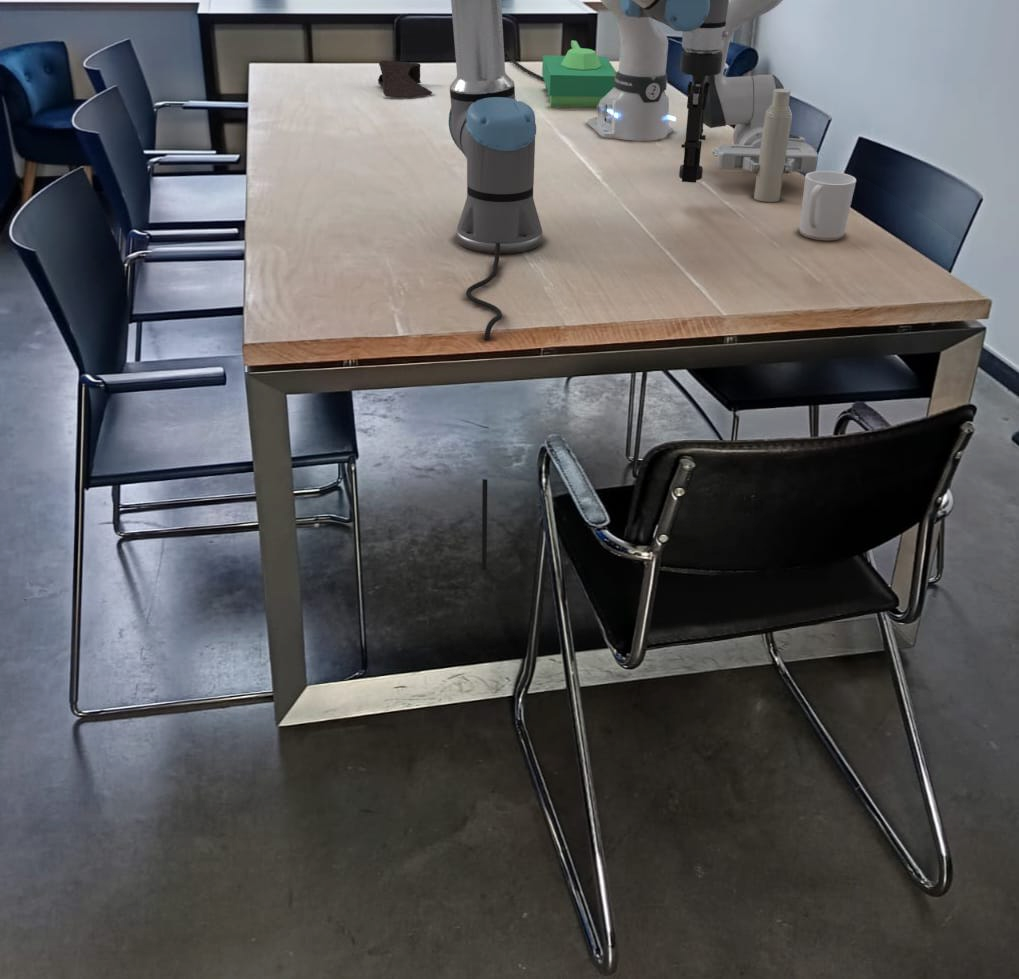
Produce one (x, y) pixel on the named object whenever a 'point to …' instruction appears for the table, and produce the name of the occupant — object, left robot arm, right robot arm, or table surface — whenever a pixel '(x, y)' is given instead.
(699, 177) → the cap
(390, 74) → the axe head
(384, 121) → the table surface
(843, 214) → the mug
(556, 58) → the toy tank
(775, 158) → the bottle
